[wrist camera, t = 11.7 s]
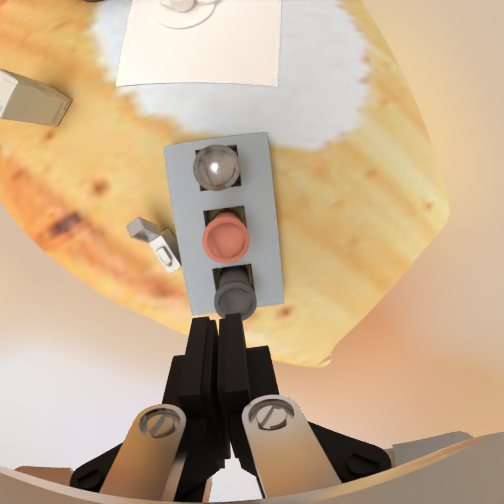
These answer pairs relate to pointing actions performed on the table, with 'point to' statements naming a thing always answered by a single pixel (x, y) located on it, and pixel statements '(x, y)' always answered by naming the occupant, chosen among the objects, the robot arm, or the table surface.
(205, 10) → the teacup and saucer
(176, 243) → the grey white bent piece
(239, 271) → the plug black
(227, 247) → the plug red
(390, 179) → the table surface
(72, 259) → the table surface
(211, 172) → the plug grey
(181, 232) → the socket board
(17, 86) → the skincare box
